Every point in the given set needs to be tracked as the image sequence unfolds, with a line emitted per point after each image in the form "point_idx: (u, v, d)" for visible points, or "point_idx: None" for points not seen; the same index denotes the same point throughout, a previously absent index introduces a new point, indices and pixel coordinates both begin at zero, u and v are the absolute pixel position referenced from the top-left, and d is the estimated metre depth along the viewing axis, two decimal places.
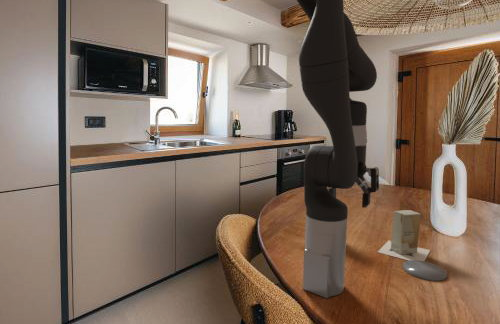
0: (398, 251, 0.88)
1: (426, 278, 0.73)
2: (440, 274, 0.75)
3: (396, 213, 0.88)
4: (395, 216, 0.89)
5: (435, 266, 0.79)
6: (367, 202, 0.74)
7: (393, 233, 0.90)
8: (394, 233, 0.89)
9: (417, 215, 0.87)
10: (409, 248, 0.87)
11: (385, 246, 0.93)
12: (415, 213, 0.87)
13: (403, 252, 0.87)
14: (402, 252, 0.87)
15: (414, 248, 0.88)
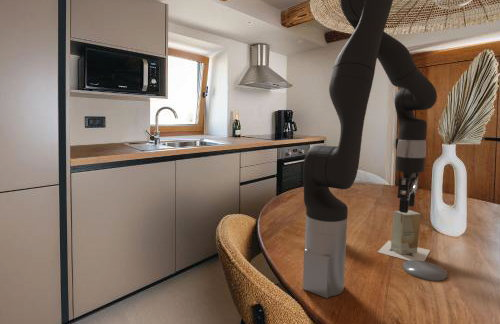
0: (398, 251, 0.88)
1: (426, 278, 0.73)
2: (440, 274, 0.75)
3: (396, 213, 0.88)
4: (395, 216, 0.89)
5: (435, 266, 0.79)
6: None
7: (393, 233, 0.90)
8: (394, 233, 0.89)
9: (417, 215, 0.87)
10: (409, 248, 0.87)
11: (385, 246, 0.93)
12: (415, 213, 0.87)
13: (403, 252, 0.87)
14: (402, 252, 0.87)
15: (414, 248, 0.88)
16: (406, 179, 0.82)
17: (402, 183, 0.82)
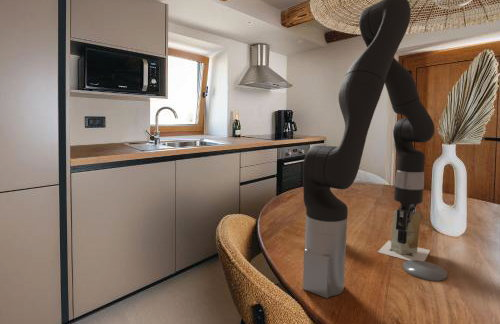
0: (398, 251, 0.88)
1: (426, 278, 0.73)
2: (440, 274, 0.75)
3: (396, 213, 0.88)
4: (395, 216, 0.89)
5: (435, 266, 0.79)
6: None
7: (393, 233, 0.90)
8: (394, 233, 0.89)
9: (417, 215, 0.87)
10: (409, 248, 0.87)
11: (385, 246, 0.93)
12: (415, 213, 0.87)
13: (403, 252, 0.87)
14: (402, 252, 0.87)
15: (414, 248, 0.88)
16: (404, 211, 0.83)
17: (400, 215, 0.83)
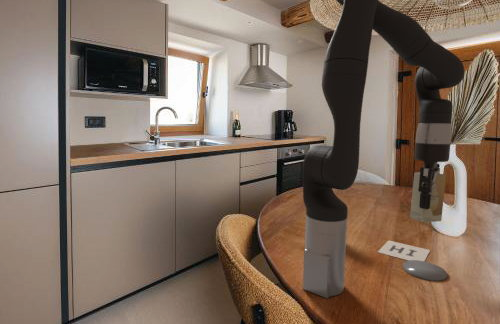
0: (420, 219, 0.74)
1: (426, 278, 0.73)
2: (440, 274, 0.75)
3: (417, 174, 0.75)
4: (416, 178, 0.76)
5: (435, 266, 0.79)
6: None
7: (413, 199, 0.76)
8: (414, 198, 0.76)
9: (442, 176, 0.74)
10: (432, 215, 0.74)
11: (385, 246, 0.93)
12: (440, 174, 0.74)
13: (426, 220, 0.74)
14: (425, 219, 0.74)
15: (439, 216, 0.75)
16: (428, 169, 0.70)
17: (424, 174, 0.70)
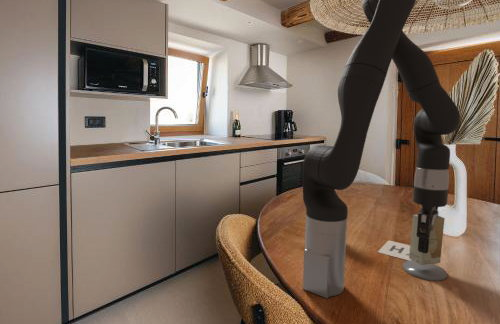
0: (418, 261, 0.75)
1: (426, 278, 0.73)
2: (440, 274, 0.75)
3: (416, 217, 0.76)
4: (414, 221, 0.77)
5: (435, 266, 0.79)
6: None
7: (412, 240, 0.77)
8: (413, 240, 0.77)
9: (441, 220, 0.75)
10: (431, 257, 0.75)
11: (385, 246, 0.93)
12: (438, 217, 0.75)
13: (424, 263, 0.75)
14: (423, 262, 0.75)
15: (437, 258, 0.76)
16: (426, 216, 0.70)
17: (422, 220, 0.71)
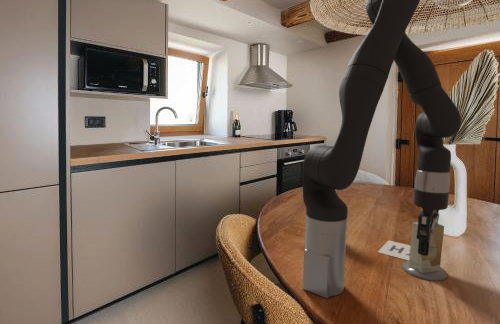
0: (418, 269, 0.76)
1: (426, 278, 0.73)
2: (440, 274, 0.75)
3: (415, 225, 0.76)
4: (414, 228, 0.77)
5: None
6: None
7: (412, 248, 0.78)
8: (413, 248, 0.77)
9: (440, 228, 0.75)
10: (430, 265, 0.75)
11: (385, 246, 0.93)
12: (438, 225, 0.75)
13: (424, 270, 0.75)
14: (423, 270, 0.75)
15: (437, 266, 0.76)
16: (426, 217, 0.70)
17: (422, 222, 0.71)
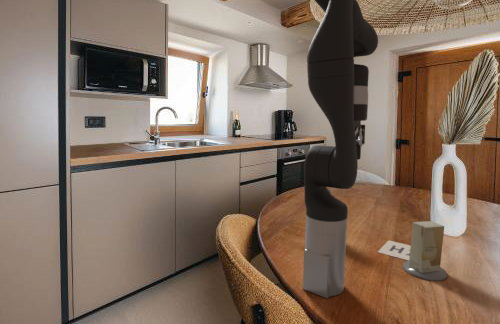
0: (418, 269, 0.76)
1: (426, 278, 0.73)
2: (440, 274, 0.75)
3: (415, 225, 0.76)
4: (414, 228, 0.77)
5: None
6: None
7: (412, 248, 0.78)
8: (413, 248, 0.77)
9: (440, 228, 0.75)
10: (430, 265, 0.75)
11: (385, 246, 0.93)
12: (438, 225, 0.75)
13: (424, 270, 0.75)
14: (423, 270, 0.75)
15: (437, 266, 0.76)
16: None
17: None
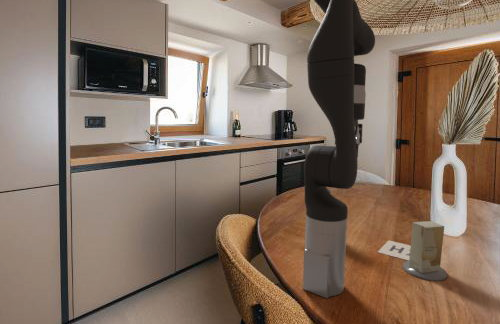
0: (418, 269, 0.76)
1: (426, 278, 0.73)
2: (440, 274, 0.75)
3: (415, 225, 0.76)
4: (414, 228, 0.77)
5: None
6: (357, 153, 0.89)
7: (412, 248, 0.78)
8: (413, 248, 0.77)
9: (440, 228, 0.75)
10: (430, 265, 0.75)
11: (385, 246, 0.93)
12: (438, 225, 0.75)
13: (424, 270, 0.75)
14: (423, 270, 0.75)
15: (437, 266, 0.76)
16: None
17: None
